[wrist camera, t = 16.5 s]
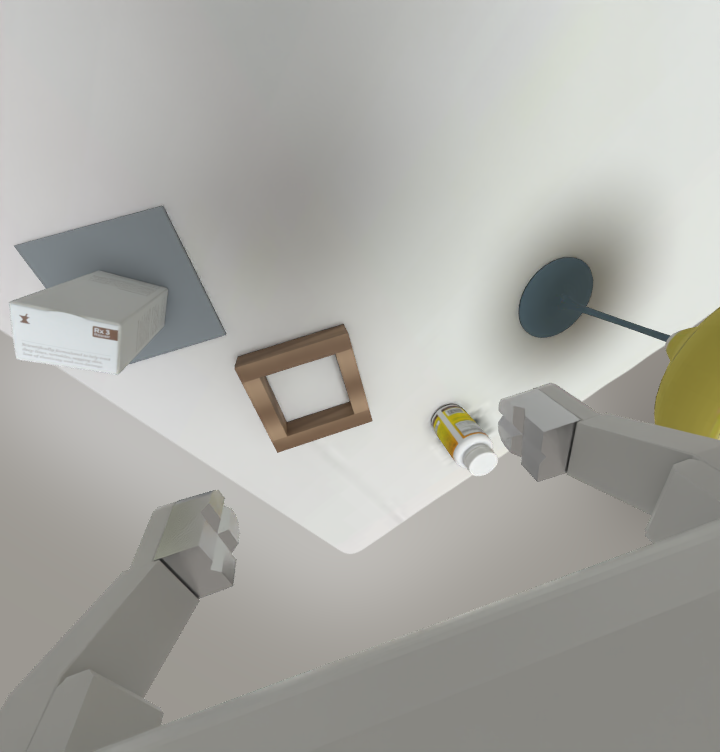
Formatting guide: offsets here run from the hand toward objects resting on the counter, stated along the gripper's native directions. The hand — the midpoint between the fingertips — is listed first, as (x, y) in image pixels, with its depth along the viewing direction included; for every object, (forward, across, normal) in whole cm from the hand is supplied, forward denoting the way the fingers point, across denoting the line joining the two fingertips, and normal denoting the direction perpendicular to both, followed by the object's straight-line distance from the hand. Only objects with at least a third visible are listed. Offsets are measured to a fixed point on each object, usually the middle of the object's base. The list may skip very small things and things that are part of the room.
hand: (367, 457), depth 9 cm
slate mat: (+29, +17, -2) cm, 34 cm away
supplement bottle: (+29, -15, +27) cm, 42 cm away
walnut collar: (+29, +4, +14) cm, 33 cm away
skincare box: (+29, +17, -1) cm, 34 cm away
